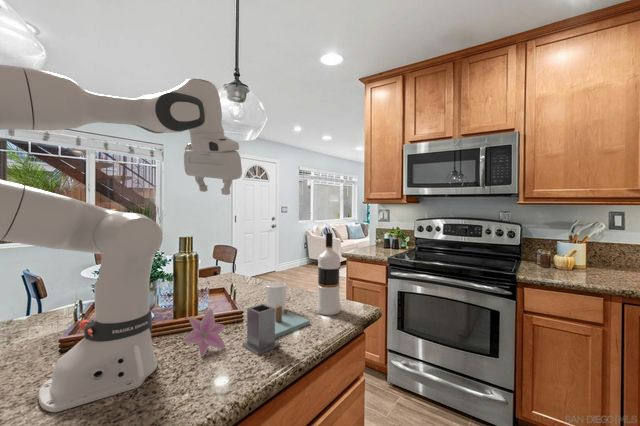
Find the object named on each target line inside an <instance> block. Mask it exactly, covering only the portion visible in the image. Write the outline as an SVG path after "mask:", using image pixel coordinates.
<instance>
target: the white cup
mask: <svg viewBox="0 0 640 426" xmlns="http://www.w3.org/2000/svg"><path fill="white" fill-rule="evenodd" d="M265 295H266V305H268V306H270V307H273V308H275V306H282V310H285V309H286V303H287V302H286V301H287V283H286V282H283V281H271V282H268V283H266V284H265Z"/></svg>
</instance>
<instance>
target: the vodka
mask: <svg viewBox="0 0 640 426" xmlns="http://www.w3.org/2000/svg"><path fill="white" fill-rule="evenodd" d="M333 235H334V234H333V233H332V232H326V233H325V250H324V251H322V252H321V253H319V255H318V256H317V267H318V271H317V273H318V274H317V281H318V284H317V301H316V309H315V310H316V312H317V313H318V314H320V315H323V316H334V315H338V314H339V313H340V312H341V308H342V306H341V299H340V298H341V297H340V288H341V285H340V267H341V264H340V263H341V257H340V255H339V254H338V252H335V251H334V250H333V248H334V247H333V243H334V242H333V240H334V239H333Z"/></svg>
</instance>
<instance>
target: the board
mask: <svg viewBox="0 0 640 426" xmlns="http://www.w3.org/2000/svg"><path fill="white" fill-rule="evenodd" d="M310 324H311V320H310V319H309V318H305V317H302V316H300V315H297V314H295V313H292V312H290V311H288V309H287V308H285V310H282V306H275V339H277V338H279V337H281V336H284V335H286V334H288V333H291V332H294V331H296V330H299V329H300V328H302V327H305V326H308V325H310Z"/></svg>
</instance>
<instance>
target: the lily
mask: <svg viewBox="0 0 640 426" xmlns="http://www.w3.org/2000/svg"><path fill="white" fill-rule="evenodd" d="M215 319H216V318H215V315H214V311H213V309H212V308H209V309H208V310H207V311H206V313H205V314H204V316H203V318H202V319H201V320H200V319H197V318H192V317H188V320H189V323H190V325H191V328H192V330H191V331H189V332H188V334H186V335H185V337H183V339H182V343H185V344H196V346H198V350H199V351H198V352H199V355H200V357H201V358H202V357H203V356H204V355H205V354H206V352H207V351H208V348H209V347H213V348H217V349H221V350H225V349H226V347H225V346H226V345H225V343H224V340H223V338H222V336H221V335H220V333H221V332H222V331H223V330H224V329H225V327H226V325H225V324H223V323H222V324H221V323H216V321H215Z"/></svg>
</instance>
